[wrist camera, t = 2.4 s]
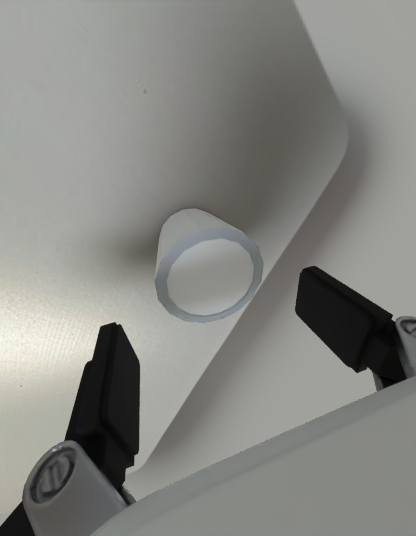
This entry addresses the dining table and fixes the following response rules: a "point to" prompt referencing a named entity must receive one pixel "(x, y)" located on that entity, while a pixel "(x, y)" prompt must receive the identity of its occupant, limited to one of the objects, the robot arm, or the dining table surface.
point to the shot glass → (205, 267)
